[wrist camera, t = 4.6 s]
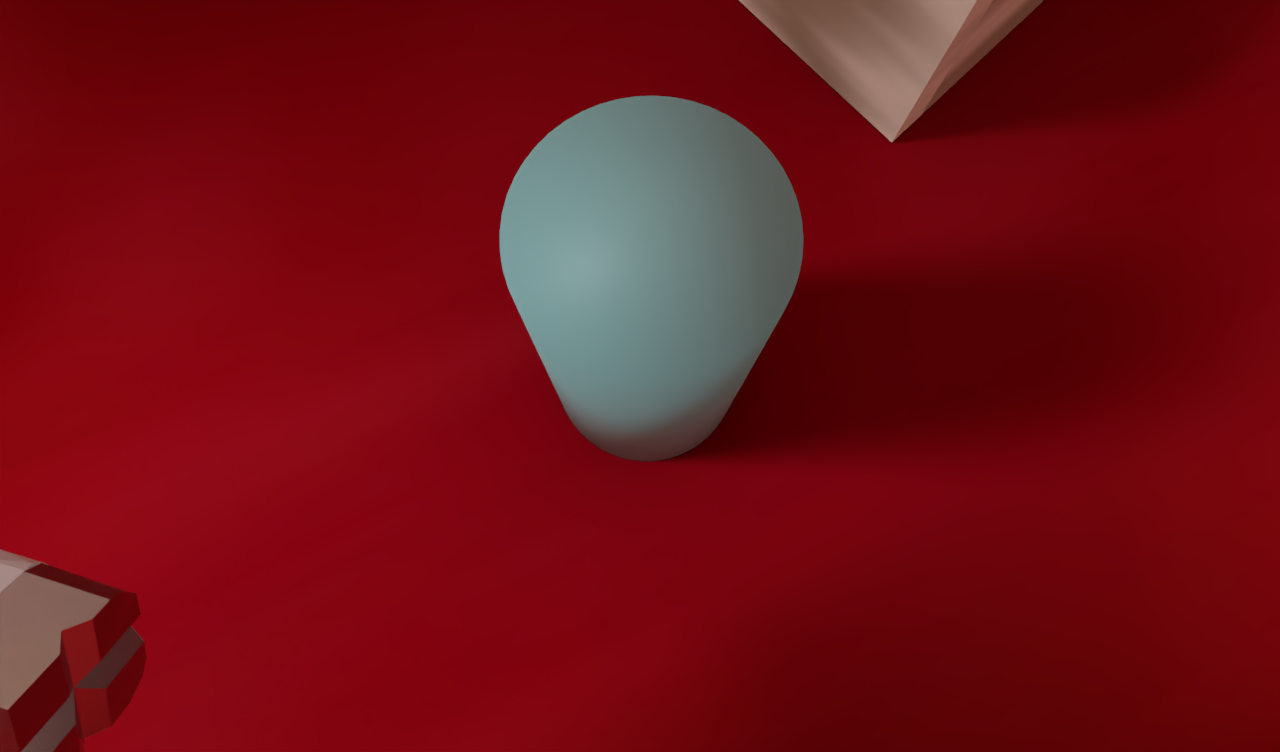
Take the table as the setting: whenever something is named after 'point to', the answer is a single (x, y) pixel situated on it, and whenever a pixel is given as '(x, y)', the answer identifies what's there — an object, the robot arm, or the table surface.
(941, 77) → the bore box
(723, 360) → the peg
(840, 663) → the table surface
